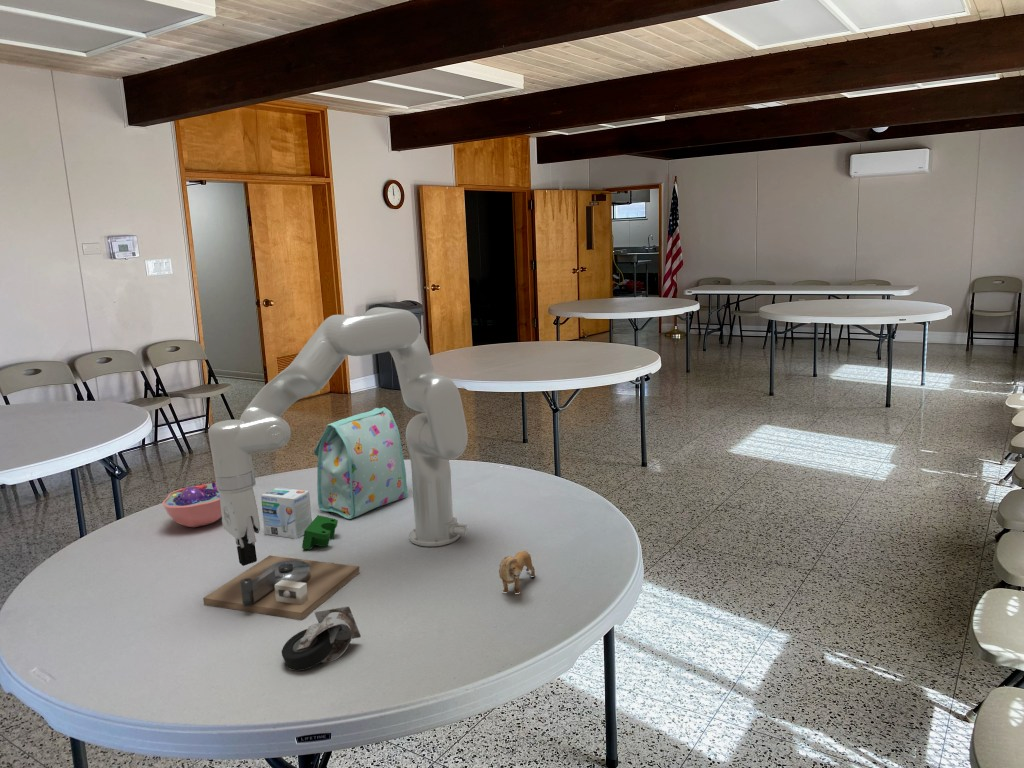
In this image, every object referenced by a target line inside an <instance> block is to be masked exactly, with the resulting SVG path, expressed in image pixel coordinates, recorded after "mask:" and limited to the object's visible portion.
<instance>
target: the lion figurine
mask: <svg viewBox="0 0 1024 768" xmlns="http://www.w3.org/2000/svg"><path fill="white" fill-rule="evenodd" d="M524 567H526V569H525V571H526V572H529V571H530V575H529V577H530V576H535V577H536V573H535V572H536V571H535V567H534V566H533V561H532V557H531V554H530V553H529V552H528V551H526V550H522V551H518V552H516V553H515V555H514V557H512V556H511V555H510V556H509V555H507V556H505V557H504V558H503V559H502V560H501V561H500V563H499V570H498V573H499V578H500V579H501V582H502V586H503V590H502V591H503V592H508V593H509V587H508V585H511V584H514V589H513V591H514V592H515V593H519V592H520V593H521V590H520V577H521V573H522V571H523V570H524ZM515 593H514V594H515Z"/></svg>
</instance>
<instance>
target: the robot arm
mask: <svg viewBox="0 0 1024 768" xmlns="http://www.w3.org/2000/svg"><path fill="white" fill-rule="evenodd" d="M420 331H421V325H420V321H419V318H418V317H417V316H416V315H415V314H414V313H413V312H411V311H410V310H407V309H403V308H394V307H393V308H391V307H386V306H385V307H383V306H381V307H380V306H377V307H372V308H370V309H368V310H367V311H366V312H364V313H363V315H357V316H356V315H349V314H348V315H347V314H332V315H330V316H328V317H326V318H325V319H324V320H323V321H322V322H321V324H320V325H319V327H317V329H316V330H315V331H314V333H313V334H312V335H311V336H310V338H309V340H307V342H306V343H305V345H304V346H303V347H302V349H301V350H300V352H299V353H298V354H296V357H294V359H293V360H292V361H291V363H290V364H289V365H288V366H287V367H286V368H284V369H283V370H281V371H280V372H279V373H278V374H277V375H276V376H274V378H272V379H271V380H270V381H268V382H267V383H266V384H265V385H264V386H263V387H262V388H261V389H260V390H259V391H258V392H257V394H255V396H254V397H253V398H252V400H251V401H250V403H248V405H247V406H246V408H245V409H244V410H243V412H242V413H241V416H240V418H239V419H227V420H221V421H217V422H216V423H213V424H212V425H210V426H209V428H208V439H209V440H208V441H209V446H210V451H211V452H210V453H211V457H212V465H213V472H214V477H215V483H216V485H217V491H218V492H220V506H221V515H222V517H221V522H222V523H221V524H222V527H223V529H224V531H226V532H227V534H228V533H229V535H230V536H232V537H233V538H234V539H235V545H236V550H237V555H238V562H239V564H240V565H241V566H243V567H244V566H245V567H246V566H248V565H250V564H253V563H256V562H257V560H258V558H257V557H258V556H257V552H256V545H255V544H256V542H257V538H256V534H259V533H260V531H261V524H260V523H261V522H260V516H259V511H258V504H257V501H256V496H255V495H256V494H255V492H254V488H253V487H255V486H256V485H257V484H256V483H257V481H256V477H255V469H254V464H253V461H254V460H253V455H252V454H256V453H267V452H268V453H269V452H275V451H278V450H281V449H282V448H284V447H285V446H286V445H287V444H288V443H289V441H290V438H291V433H292V432H291V427H290V425H289V423H288V422H287V421H286V420H285V419H284V418H282V415H284V413H285V412H286V411H287V410H288V409H289V408H290V407H291V406H292V405H293V404H295V403H296V402H297V401H299V400H300V399H303V398H305V397H307V396H310V395H312V394H313V395H314V394H315V393H317V392H319V391H321V390H323V388H324V387H325V386H326V385H327V384H328V383H329V380H331V378H332V377H333V375H334V374H335V373H336V371H337V370H338V369H339V367H340V366H341V364H342V363H343V362H344V360H345V359H346V358H347V356H350V357H351V356H352V357H364V356H368V355H369V356H370V355H377V354H381V353H387V352H389V353H390V355H391V357H392V358H393V359H392V360H393V362H394V366H395V370H396V372H397V373H396V374H397V376H398V378H397V379H398V383H399V387H400V391H401V396H402V399H403V402H404V404H405V405H406V407H408V408H409V409H411V410H413V411H416V412H420V413H417V414H416V415H414V416H413V417H412V418H411V419H409V422H408V423H407V425H406V429H405V441H406V445H407V446H406V447H407V450H408V454H409V459H410V467H411V477H412V478H411V482H412V483H411V484H412V497H413V513H414V514H413V515H414V528H413V530H411V532H409V541H410V542H411V543H412V544H415V545H417V546H420V547H440V546H446V545H449V544H452V543H454V542H455V541H457V540H458V539H460V536H467V535H468V534H469V528H468V525H467V524H463V523H461V524H459V523H458V519H457V517H454V514H453V513H454V512H453V511H454V510H453V494H452V493H453V492H452V474H451V473H452V471H451V464H450V463H451V462H450V460H456V459H457V458H460V457H461V456H462V455H463V453H464V452H465V451H466V448H467V447H468V439H469V438H468V437H469V435H468V433H469V432H468V427H467V422H466V417H465V411H464V406H463V402H462V396H461V393H460V391H459V389H458V387H457V385H456V383H455V382H454V381H453V380H452V379H450V378H449V377H447V376H445V375H442V374H441V375H440V374H437V373H436V372H435V369H434V365H433V360H432V357H431V355H430V350H429V348H428V347H429V346H428V344H427V342H426V341H425V339H424V337H423V335H422V333H421V332H420Z"/></svg>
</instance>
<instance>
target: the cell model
mask: <svg viewBox="0 0 1024 768" xmlns="http://www.w3.org/2000/svg"><path fill="white" fill-rule="evenodd" d="M161 504H162V506H163V509H165V513H166V514H167V516H169V517H170V518H171V519H172V520H173V521H175V522H176V523H177V524H179V525H181V526H185V527H187V528H198V527H203V526H207V525H210V524H213V523H215V522H217V521H218V520H220V519H222V515H221V506H220V492H218V491H217V485H216V481H214V482H210V483H203V484H199V485H193V486H192V485H191V486H186V487H183V488H180V489H177V490H174V491H171V492H169V493H168V495H167V497H166V498H165V499H164V500H163V501H162V503H161Z"/></svg>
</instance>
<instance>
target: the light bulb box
mask: <svg viewBox="0 0 1024 768" xmlns="http://www.w3.org/2000/svg"><path fill="white" fill-rule="evenodd" d="M260 497H261V499H260V500H261V507H262V508H261V510H262V512H261V513H262V521H263V533H264V535H270V536H277V537H283V538H289V539H296V540H297V539H300V538H301V537H302V536H304V532H305V530H306V528H307V527H308V526H309V525H310V524H311V523H312V521H313V520H312V509H311V497H310V491H309V490H303V489H296V488H295V489H294V488H285V487H275V488H272V489H271V490H269V491H267V492H264V493H263V494H261V495H260Z"/></svg>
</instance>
